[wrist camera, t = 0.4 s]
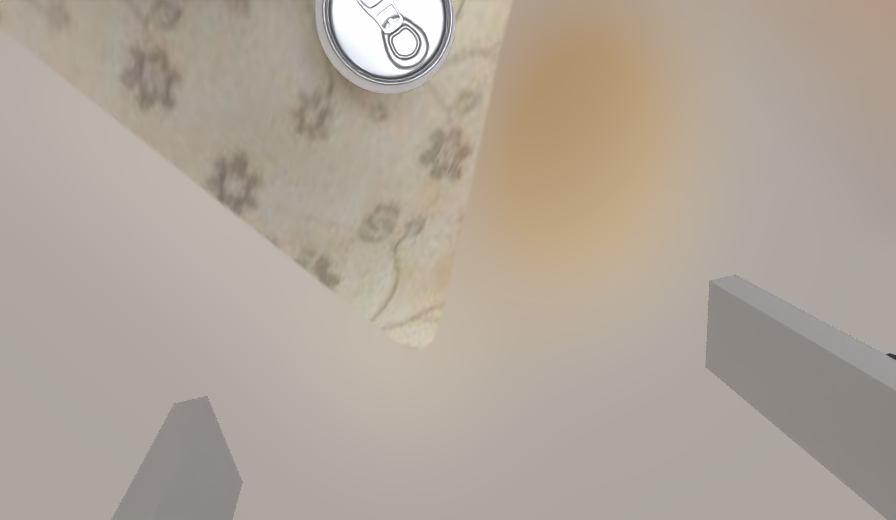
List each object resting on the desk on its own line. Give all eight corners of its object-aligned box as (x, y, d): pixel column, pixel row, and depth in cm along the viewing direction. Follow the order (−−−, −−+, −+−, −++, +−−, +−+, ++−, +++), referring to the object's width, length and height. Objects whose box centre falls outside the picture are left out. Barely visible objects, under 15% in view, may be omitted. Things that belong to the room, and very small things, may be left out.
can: (369, 110, 34) (375, 124, 23) (305, 23, 32) (277, -8, 20) (446, 51, 34) (490, 37, 22) (387, -41, 31) (404, -108, 20)
